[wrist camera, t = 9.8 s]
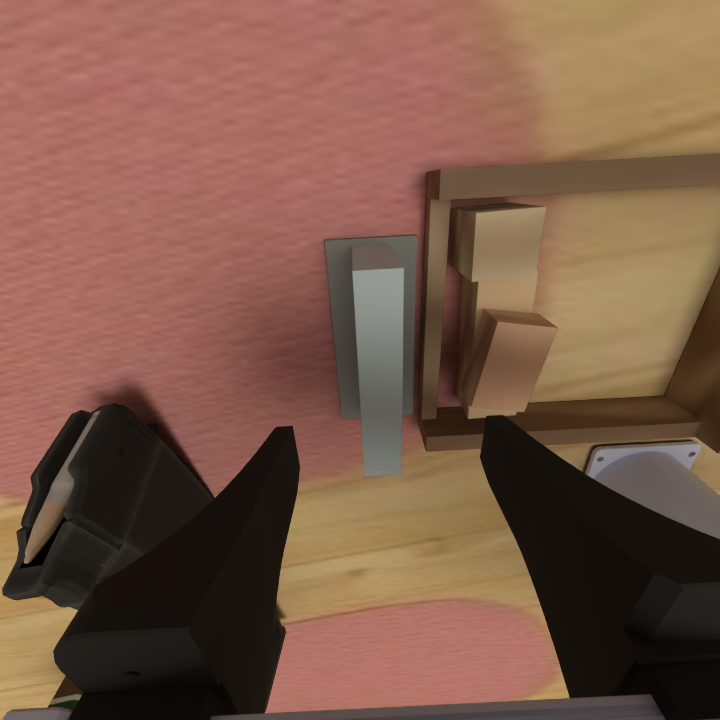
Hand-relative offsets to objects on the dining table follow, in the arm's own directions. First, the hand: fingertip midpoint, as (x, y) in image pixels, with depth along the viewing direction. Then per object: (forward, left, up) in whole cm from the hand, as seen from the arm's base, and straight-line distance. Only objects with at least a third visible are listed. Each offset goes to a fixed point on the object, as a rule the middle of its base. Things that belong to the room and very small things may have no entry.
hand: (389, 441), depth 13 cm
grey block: (0, 0, -9) cm, 9 cm away
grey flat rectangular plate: (0, 0, -10) cm, 10 cm away
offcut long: (0, -7, -10) cm, 12 cm away
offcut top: (0, -7, -7) cm, 10 cm away
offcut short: (+6, -6, -10) cm, 13 cm away
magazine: (-17, +14, -10) cm, 25 cm away
